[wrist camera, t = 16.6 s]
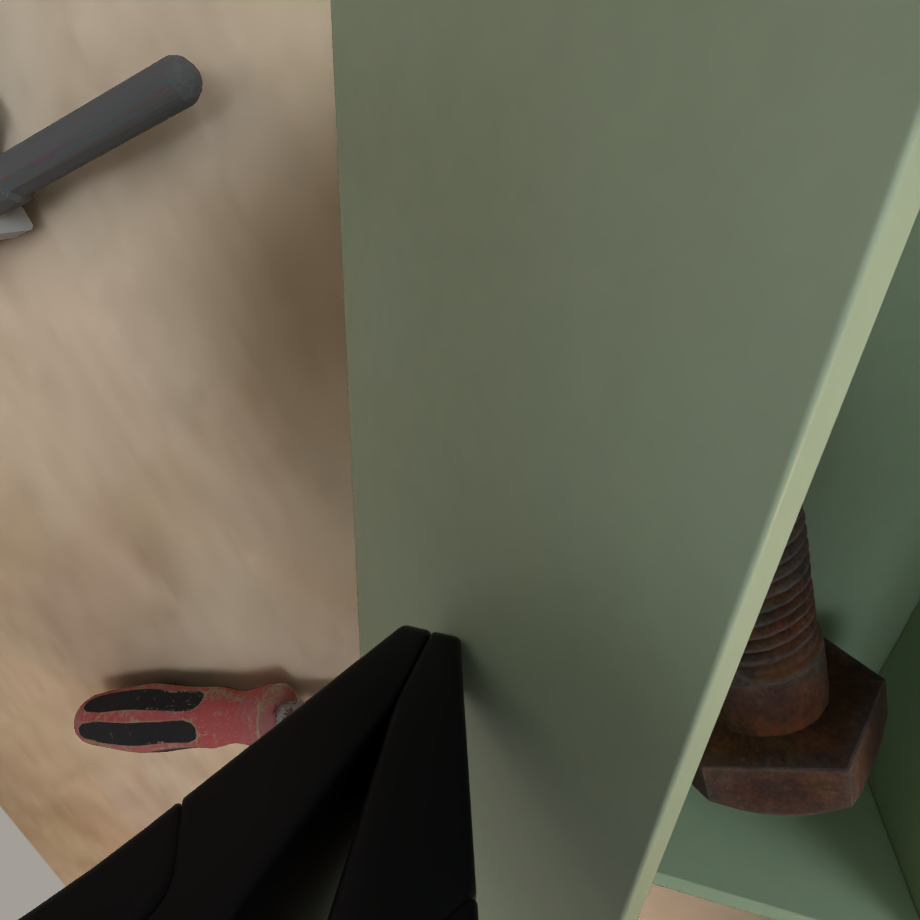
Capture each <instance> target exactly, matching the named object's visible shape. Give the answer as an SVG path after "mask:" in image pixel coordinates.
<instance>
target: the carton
mask: <svg viewBox="0 0 920 920" xmlns="http://www.w3.org/2000/svg"><path fill="white" fill-rule="evenodd" d="M803 510H804V512H805V517H806V519H805V523H806V526H807V538H808V540H809V552H810V563H811V578H812V582H813V588H814V599H815V607H816V613H817V622H818V624H819V626H820V627H821V629H822V633H823V637H825V638H826V639H828V640H829V641H830V642H832V643H833V644H835V645H836V646H838V647H839V648H840V649H842V650H843V651H845V652H846V653H848V654H849V655H851V656H852V657H853V658H855V659H856V660H858V661H859V662H861V663H862V664H864V665H865V666H866V667H868V668H869V669H871V670H872V671H874V672H875V673H877V674H878V675H879V676H881V677H882V678H884V679H885V680H886V690H887V707H888V715H887V720H886V724H885V729H884V733H883V737H882V741H881V744H880V748H879V751H878V755H877V758H876V760H875V763H874V765H873V767H872V770H871V772H870V775H869V777H868V779H867V782H866V784H865V786H864V789H863V791H862V793H861V795H860V796H859V798H858V799H857V801H856V802H855V803H854V805H853V806H852V807H849V808H845V809H840V810H835V811H831V812H826V813H821V814H811V815H801V816H780V815H768V814H759V813H753V812H748V811H742V810H738V809H734V808H731V807H727V806H724V805H721V804H717V803H714V802H711V801H709V800H708V799H706V798H705V797H704V796H703V795H702V794H701V793H700V792H699V791H698V790H697V789H696V788H695V787H694V786H693V785H692V784H691V786H690V788H689V791H688V794H687V796H686V799H685V801H684V804H683V806H682V809H681V811H680V814H679V816H678V819H677V821H676V824H675V826H674V829H673V831H672V834H671V836H670V839H669V841H668V844H667V846H666V849H665V852H664V854H663V857H662V859H661V862H660V864H659V867H658V869H657V872H656V874H655V877H654V879H653V882H652V883H653V884H656V885H659V886H663V887H666V888H669V889H673V890H676V891H679V892H683V893H686V894H689V895H693V896H696V897H699V898H703V899H706V900H709V901H713V902H716V903H719V904H723V905H726V906H729V907H733V908H736V909H739V910H743V911H746V912H749V913H753V914H756V915H759V916H762V917H766V918H769V919H772V920H920V209H919V211H918V214H917V216H916V219H915V221H914V224H913V226H912V229H911V231H910V234H909V236H908V239H907V241H906V244H905V246H904V249H903V252H902V254H901V257H900V259H899V262H898V264H897V267H896V269H895V272H894V274H893V277H892V279H891V282H890V284H889V287H888V289H887V292H886V294H885V297H884V299H883V302H882V304H881V307H880V310H879V312H878V315H877V317H876V320H875V322H874V325H873V327H872V330H871V332H870V335H869V337H868V340H867V342H866V345H865V347H864V350H863V352H862V355H861V357H860V360H859V362H858V365H857V367H856V370H855V373H854V375H853V378H852V380H851V383H850V385H849V388H848V390H847V393H846V395H845V398H844V400H843V403H842V405H841V408H840V410H839V413H838V415H837V418H836V420H835V423H834V425H833V428H832V431H831V433H830V436H829V438H828V441H827V443H826V446H825V448H824V451H823V453H822V456H821V458H820V461H819V463H818V466H817V468H816V471H815V473H814V476H813V478H812V481H811V483H810V486H809V488H808V491H807V494H806V496H805V499H804V501H803Z"/></svg>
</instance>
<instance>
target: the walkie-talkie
mask: <svg viewBox="0 0 920 920" xmlns="http://www.w3.org/2000/svg"><path fill="white" fill-rule="evenodd" d="M201 92H202V77H201V75H200V72H199V71H198V69H197V68H196V67H195V65H194V64H192V63H191V62H190V61H188V60H187V59H186V58H184V57H182V56H178V55H168V56H166V57H164V58H163V59H161V60H159V61H157V62H156V63H154V64H152V65H151V66H149V67H147V68H146V69H144V70H142V71H141V72H139V73H137V74H136V75H134V76H132V77H131V78H129V79H127V80H125V81H124V82H122V83H120V84H119V85H117V86H115V87H114V88H112V89H110V90H109V91H107V92H105V93H104V94H102V95H100V96H99V97H97V98H95V99H93V100H92V101H90V102H88V103H87V104H85V105H83V106H82V107H80V108H78V109H77V110H75V111H73V112H72V113H70V114H68V115H67V116H65V117H63V118H61V119H60V120H58V121H56V122H55V123H53V124H51V125H50V126H48V127H46V128H45V129H43V130H41V131H40V132H38V133H36V134H35V135H33V136H31V137H29V138H28V139H26V140H24V141H23V142H21V143H19V144H18V145H16V146H14V147H13V148H11V149H9V150H8V151H6V152H4V153H0V240H4V239H11V238H16V237H18V236H20V235H22V234H24V233H26V232H27V231H29V230H31V229H32V228H33V225H32V223H31V221H30V219H29V217H28V216H27V214H26V212H25V210H24V209H23V207H22V205H24V204H26V203H27V202H29V201H31V200H33V198H34V195H35V192H36V191H37V190H39V189H41V188H43V187H44V186H46V185H48V184H50V183H52V182H54V181H55V180H57V179H59V178H61V177H63V176H65V175H66V174H68V173H70V172H72V171H74V170H75V169H77V168H79V167H81V166H83V165H85V164H86V163H88V162H90V161H92V160H94V159H95V158H97V157H99V156H101V155H103V154H105V153H106V152H108V151H110V150H112V149H114V148H116V147H117V146H119V145H121V144H123V143H125V142H126V141H128V140H130V139H132V138H134V137H136V136H137V135H139V134H141V133H143V132H145V131H147V130H148V129H150V128H152V127H154V126H156V125H158V124H159V123H161V122H163V121H165V120H167V119H169V118H170V117H172V116H174V115H176V114H178V113H179V112H181V111H183V110H185V109H187V108H189V107H190V106H192V105H194V104H195V103H196V102H197V100H198V98H199V96H200V94H201Z"/></svg>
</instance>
